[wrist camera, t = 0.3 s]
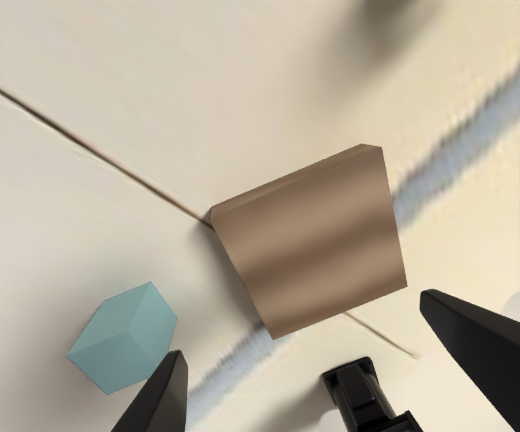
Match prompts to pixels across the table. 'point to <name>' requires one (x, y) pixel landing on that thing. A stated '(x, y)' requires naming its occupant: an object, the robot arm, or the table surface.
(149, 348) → the teal block
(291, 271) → the plinth
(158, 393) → the robot arm
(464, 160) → the table surface
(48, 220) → the table surface
